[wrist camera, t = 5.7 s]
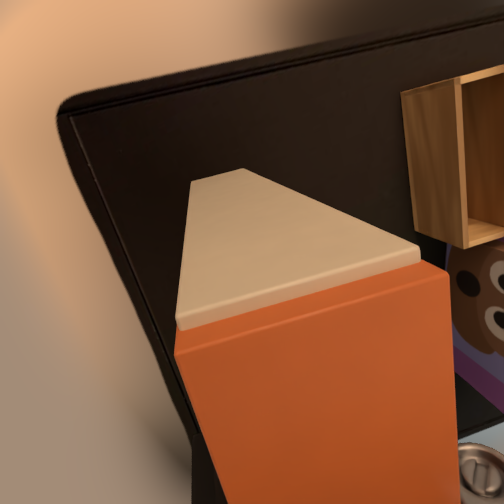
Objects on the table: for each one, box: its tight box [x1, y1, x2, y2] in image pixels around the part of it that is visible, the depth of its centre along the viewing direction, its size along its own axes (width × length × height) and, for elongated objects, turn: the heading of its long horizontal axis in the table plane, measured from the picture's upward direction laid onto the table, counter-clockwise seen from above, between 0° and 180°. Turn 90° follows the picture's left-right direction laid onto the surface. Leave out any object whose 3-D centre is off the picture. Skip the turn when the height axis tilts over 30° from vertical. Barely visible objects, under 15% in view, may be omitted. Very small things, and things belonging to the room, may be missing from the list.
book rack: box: [401, 64, 504, 249], centre depth 34 cm, size 11×15×8 cm
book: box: [174, 168, 461, 504], centre depth 13 cm, size 3×12×16 cm, turn 13°
